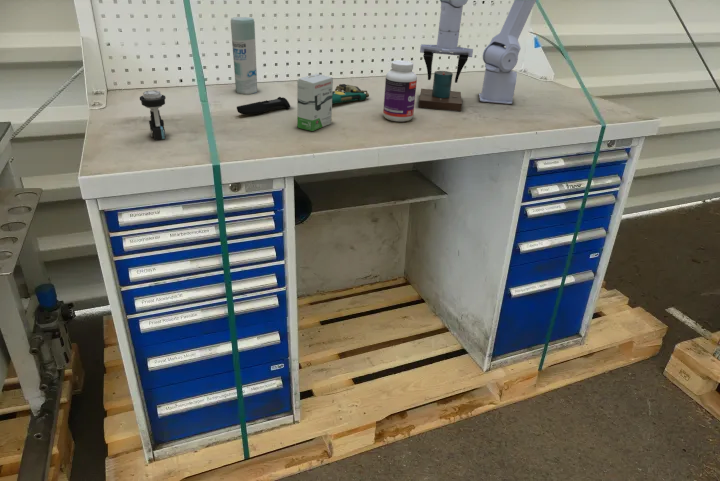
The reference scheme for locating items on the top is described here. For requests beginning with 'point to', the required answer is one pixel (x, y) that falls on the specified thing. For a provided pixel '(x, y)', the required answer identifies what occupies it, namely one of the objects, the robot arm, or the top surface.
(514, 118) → the top surface
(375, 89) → the top surface
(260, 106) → the electric trimmer
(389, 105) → the pill bottle
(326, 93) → the ink box
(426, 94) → the stand
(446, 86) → the jar
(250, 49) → the spray paint can
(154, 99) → the push button
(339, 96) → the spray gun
